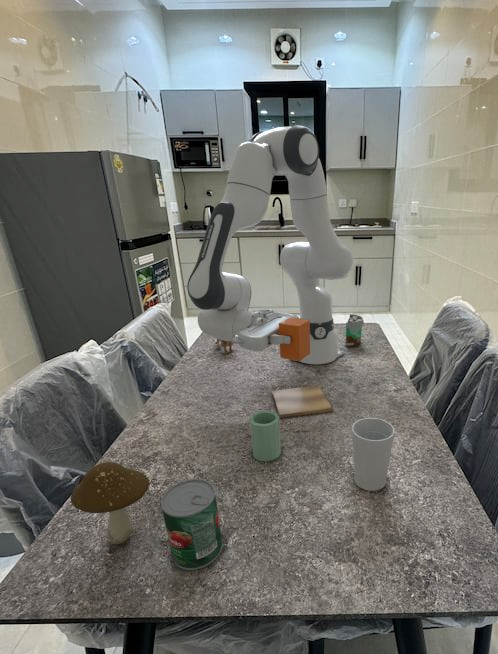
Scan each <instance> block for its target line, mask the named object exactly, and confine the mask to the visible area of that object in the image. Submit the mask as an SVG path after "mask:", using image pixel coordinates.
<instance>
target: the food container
mask: <svg viewBox="0 0 498 654" xmlns="http://www.w3.org/2000/svg"><path fill="white" fill-rule="evenodd" d="M364 325H365V320H364V318H363V317H362V316H361V315H358V314H352V313H350V314H349V318H348V320H347V321H346V323H345V348H355V347H358V346H360V345H361V341H362V331H363V326H364Z"/></svg>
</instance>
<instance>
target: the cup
mask: <svg viewBox="0 0 498 654" xmlns="http://www.w3.org/2000/svg"><path fill="white" fill-rule="evenodd" d="M395 433H396V429H395V427H394V425H392V424H391V423H390V422H389V421H387V420H384V419H381V418H378V417H365V418H361V419H358V420H356V421H355V422H354V423H352V425H351V436H352V450H353V454H352V455H353V470H354V472H353V473H354V475H353V476H354V477H353V480H354V483H355V484H356V485H357V486H358V487H359V488H360V489H362V490H365V491H369V492H374V491H379V490H381V489H383V488H385V486H386V484H387V478H388V477H387V476H388V471H389V465H390V459H391V453H392V448H393V444H394V438H395Z"/></svg>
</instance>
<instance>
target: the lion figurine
mask: <svg viewBox="0 0 498 654" xmlns="http://www.w3.org/2000/svg"><path fill="white" fill-rule="evenodd" d="M214 345H217V347H216V349H217V350H220V349H221V347H220V345H221V346H222V347H223V351H224V352H223V354H225V355H227V354H228V350H229V352H230V353H233V352H234V349H232V347H233V345H234V343H232V341H225V340H220V339H216V342H214ZM227 347H228V350H227Z"/></svg>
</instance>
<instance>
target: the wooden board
mask: <svg viewBox="0 0 498 654" xmlns="http://www.w3.org/2000/svg"><path fill="white" fill-rule="evenodd" d="M272 397H273V400H274V404H275V407H276V410H277V414H278V415H279V419H284V418H292V417H297V416H306V415H313V414H321V413H328V412H333V407H332V406H331V403H330V402H329V400H328V399H327V397H326V394H325V392H323V389H322V388H321V386H320V385H309V386H301V387H292V388H284V389H283V388H282V389H276V390H275V389H274V390H272Z"/></svg>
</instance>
